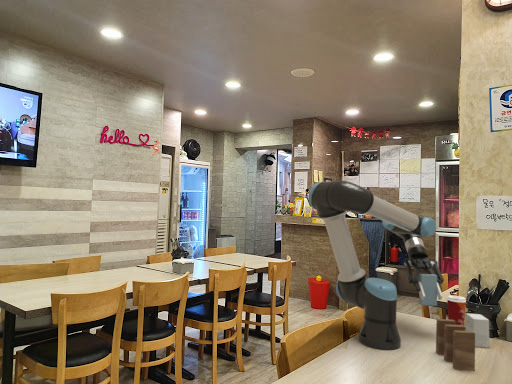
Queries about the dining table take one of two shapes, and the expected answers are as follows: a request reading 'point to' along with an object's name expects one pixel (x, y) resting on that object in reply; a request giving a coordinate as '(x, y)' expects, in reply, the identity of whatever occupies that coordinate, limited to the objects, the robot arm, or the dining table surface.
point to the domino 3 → (464, 350)
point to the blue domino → (429, 289)
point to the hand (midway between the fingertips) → (432, 298)
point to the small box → (478, 329)
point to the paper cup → (456, 309)
